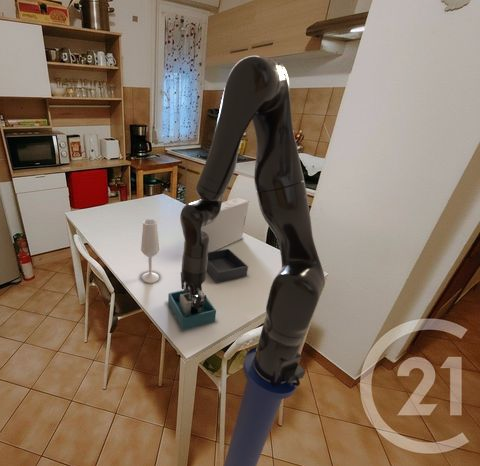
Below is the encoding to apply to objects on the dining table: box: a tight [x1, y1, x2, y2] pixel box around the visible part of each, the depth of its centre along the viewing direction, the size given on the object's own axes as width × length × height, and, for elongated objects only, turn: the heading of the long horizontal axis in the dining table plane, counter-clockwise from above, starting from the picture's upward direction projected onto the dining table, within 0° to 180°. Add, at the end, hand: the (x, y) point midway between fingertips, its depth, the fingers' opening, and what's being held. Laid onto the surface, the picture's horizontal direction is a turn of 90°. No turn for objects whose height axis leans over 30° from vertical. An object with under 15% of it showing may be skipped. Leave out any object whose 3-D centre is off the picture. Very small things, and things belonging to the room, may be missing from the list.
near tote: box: [167, 289, 217, 331], centre depth 85 cm, size 12×11×5 cm
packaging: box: [201, 197, 250, 252], centre depth 121 cm, size 30×6×20 cm, turn 128°
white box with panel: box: [179, 293, 202, 317], centre depth 85 cm, size 4×6×6 cm
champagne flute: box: [140, 218, 160, 284], centre depth 97 cm, size 7×7×24 cm
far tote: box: [207, 248, 249, 283], centre depth 107 cm, size 14×13×5 cm
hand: (190, 307), depth 86 cm, fingers closed on white box with panel, 4 cm apart
